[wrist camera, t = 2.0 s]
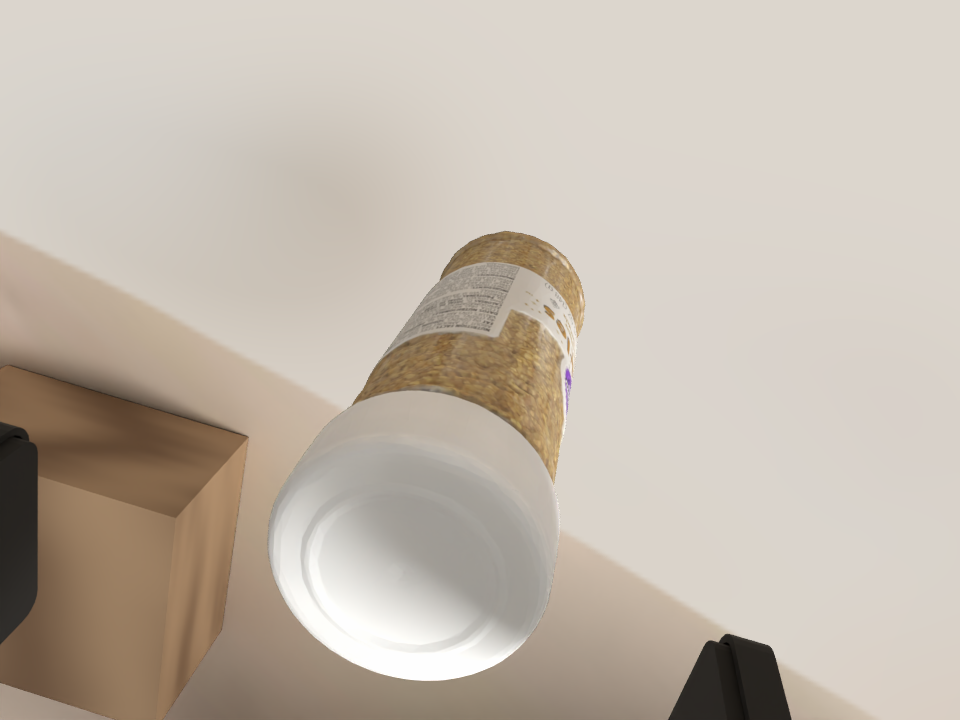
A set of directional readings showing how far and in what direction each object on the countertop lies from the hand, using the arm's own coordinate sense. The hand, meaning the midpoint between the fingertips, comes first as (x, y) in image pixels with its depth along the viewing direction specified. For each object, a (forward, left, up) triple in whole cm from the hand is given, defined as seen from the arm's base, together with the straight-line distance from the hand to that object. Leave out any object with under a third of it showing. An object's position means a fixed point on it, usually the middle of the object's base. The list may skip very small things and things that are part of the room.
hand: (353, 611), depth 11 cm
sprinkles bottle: (0, 0, -15) cm, 15 cm away
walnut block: (+12, +12, -15) cm, 22 cm away
